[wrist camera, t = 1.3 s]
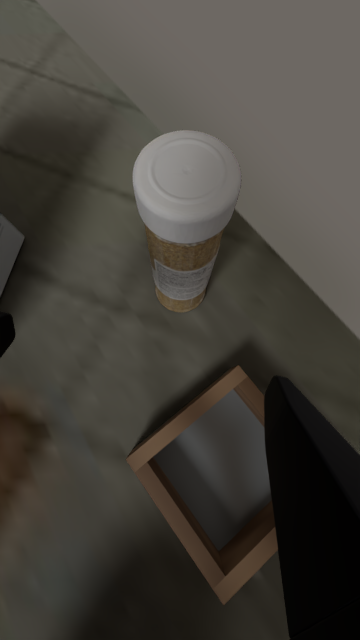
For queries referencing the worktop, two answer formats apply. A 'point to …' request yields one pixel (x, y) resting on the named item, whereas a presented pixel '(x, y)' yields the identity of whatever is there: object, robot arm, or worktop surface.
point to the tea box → (8, 248)
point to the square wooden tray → (214, 481)
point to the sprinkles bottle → (185, 210)
